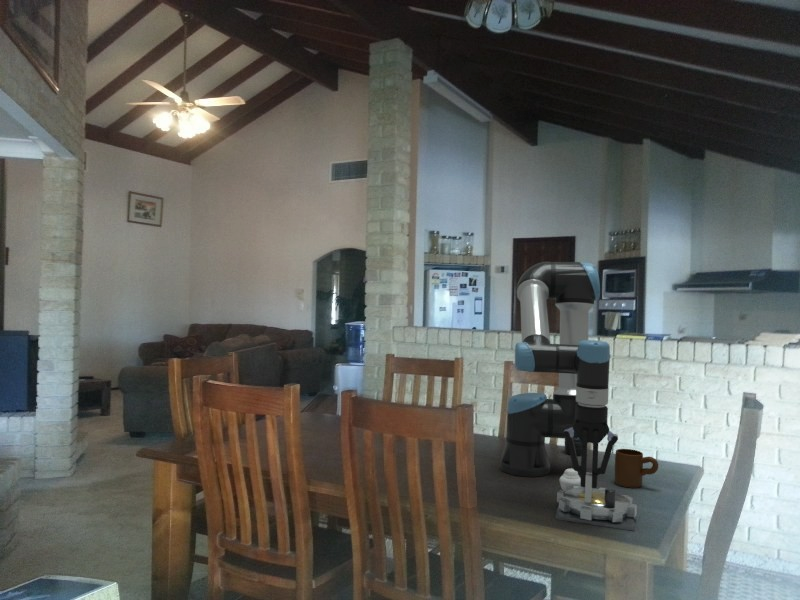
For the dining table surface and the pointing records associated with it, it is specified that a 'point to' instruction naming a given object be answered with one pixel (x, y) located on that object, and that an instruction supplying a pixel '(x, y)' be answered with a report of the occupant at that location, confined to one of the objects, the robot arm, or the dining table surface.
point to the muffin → (570, 479)
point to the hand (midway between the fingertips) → (588, 500)
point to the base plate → (596, 520)
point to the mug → (632, 467)
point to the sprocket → (597, 504)
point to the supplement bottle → (577, 447)
